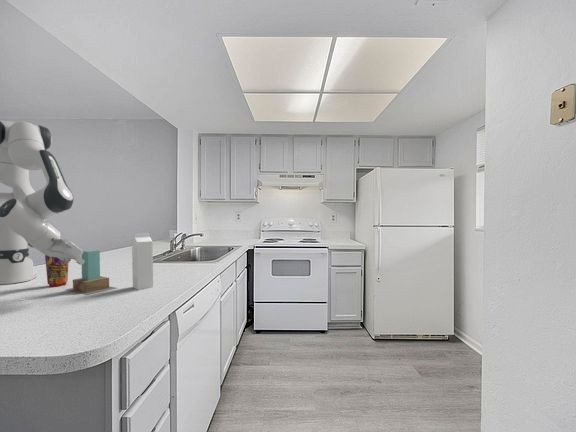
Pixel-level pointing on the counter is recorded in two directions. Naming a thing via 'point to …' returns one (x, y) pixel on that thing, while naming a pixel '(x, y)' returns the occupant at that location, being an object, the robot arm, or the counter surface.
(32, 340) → the counter surface
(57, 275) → the smoothie
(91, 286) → the base slab
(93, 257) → the pillar
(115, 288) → the mat
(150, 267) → the milk
